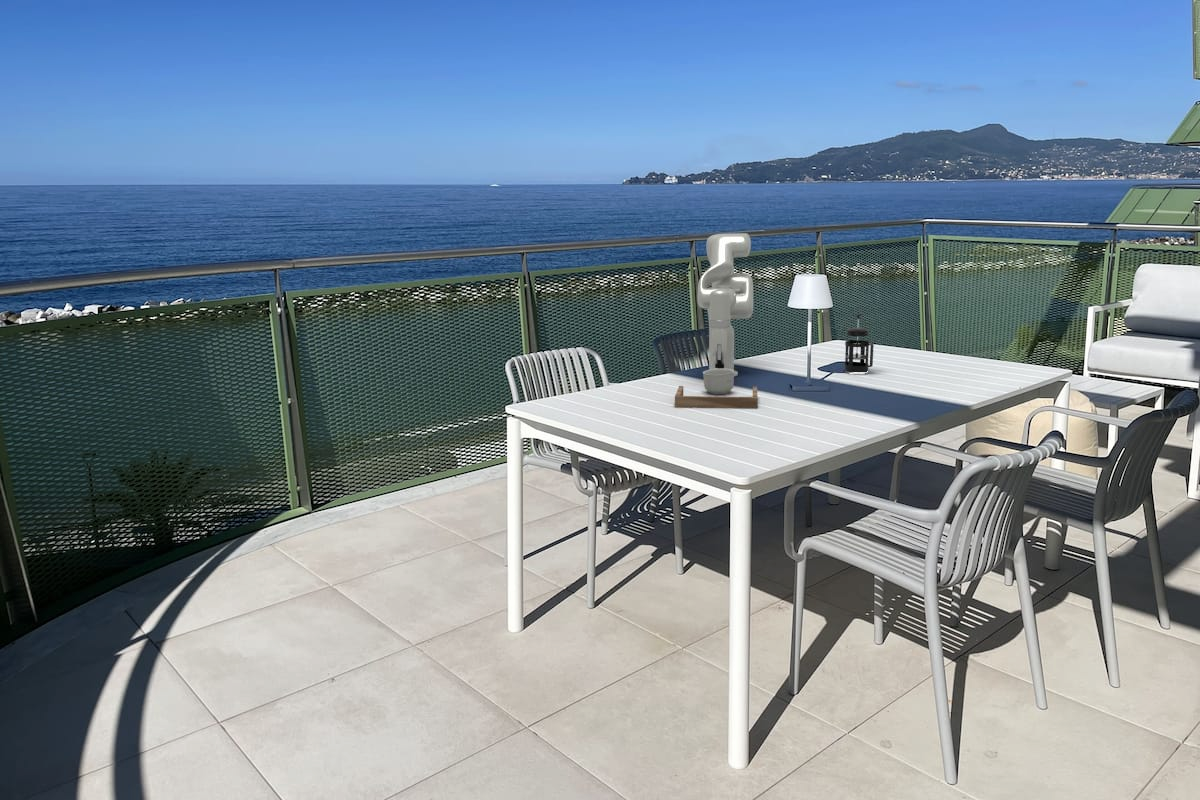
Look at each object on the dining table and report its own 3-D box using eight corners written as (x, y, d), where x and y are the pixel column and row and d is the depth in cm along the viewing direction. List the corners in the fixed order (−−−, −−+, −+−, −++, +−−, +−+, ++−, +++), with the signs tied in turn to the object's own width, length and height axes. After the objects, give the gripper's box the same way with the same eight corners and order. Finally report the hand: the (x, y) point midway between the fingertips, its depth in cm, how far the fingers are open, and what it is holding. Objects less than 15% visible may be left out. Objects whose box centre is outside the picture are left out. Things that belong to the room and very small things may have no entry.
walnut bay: (679, 395, 303) (679, 385, 302) (757, 396, 298) (757, 386, 297) (674, 407, 286) (674, 397, 285) (757, 408, 281) (757, 397, 281)
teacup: (732, 396, 299) (733, 373, 298) (701, 395, 302) (701, 373, 300) (734, 388, 313) (735, 366, 311) (704, 387, 315) (704, 366, 313)
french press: (837, 372, 335) (839, 313, 330) (850, 369, 341) (852, 311, 336) (864, 376, 326) (867, 316, 321) (877, 372, 333) (880, 313, 328)
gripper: (710, 322, 320) (710, 371, 323) (708, 326, 305) (708, 377, 309) (730, 322, 318) (730, 371, 322) (729, 326, 304) (729, 377, 308)
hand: (719, 374), depth 315 cm, fingers closed
